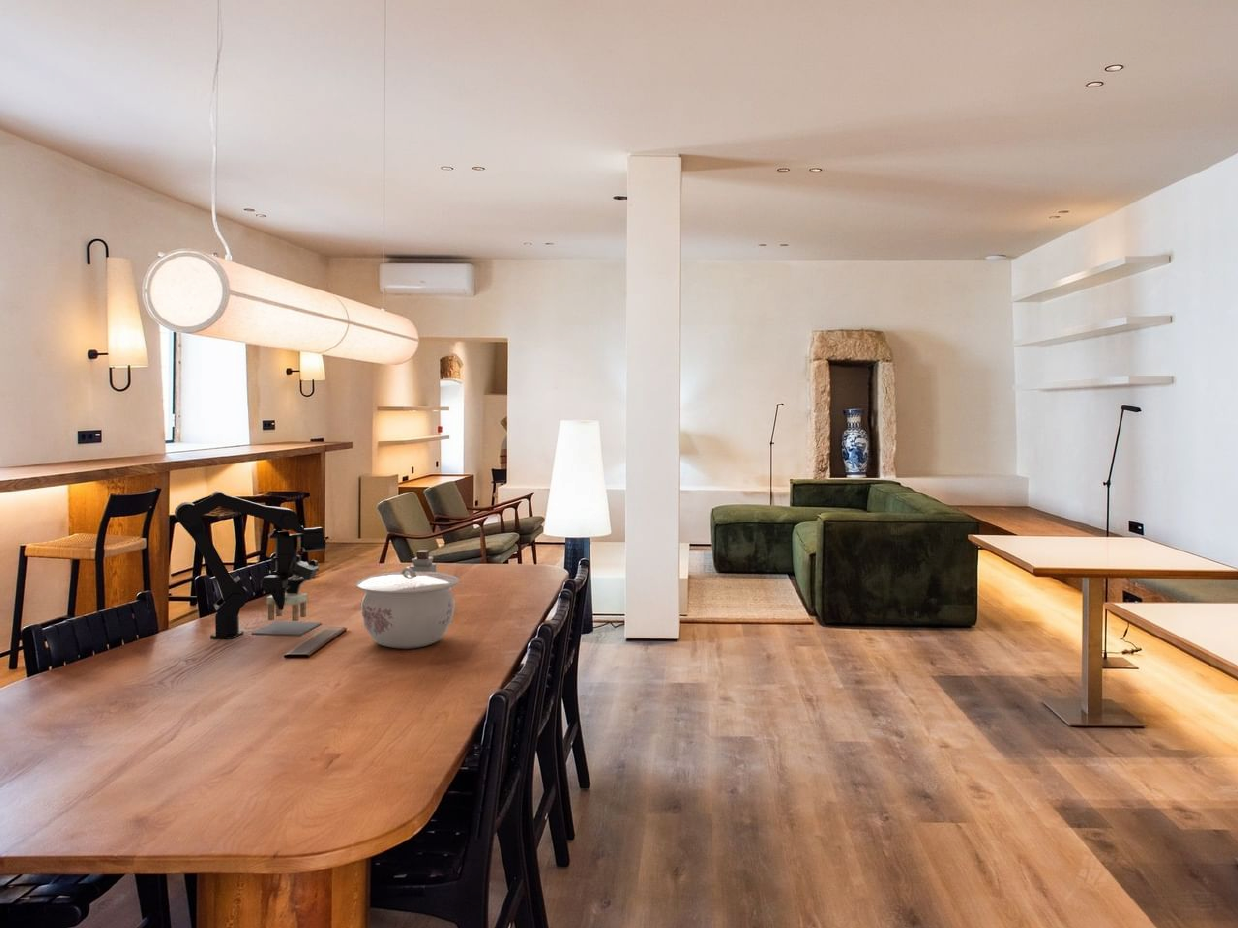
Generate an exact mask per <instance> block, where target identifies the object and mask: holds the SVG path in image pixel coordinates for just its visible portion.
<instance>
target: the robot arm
mask: <svg viewBox="0 0 1238 928" xmlns="http://www.w3.org/2000/svg"><path fill="white" fill-rule="evenodd" d="M218 508H223V509H227V510H230V511H232V512H237V513H240V514H243V515H248V516H251V517H254V518H258V519H261V520H263V521H265V522H267V523H269V524H272V525H273V526H275V527H278V528H279V529H281V530H280V531H279V530H277V529H276V528H273V530H271V532H270V533H268V534H267V537H268V538H270V539H275V556H273V557H272V561H273V562H275V571H272V575H271V574H270V575H266V576H264V577H263V578H262V579H260V587H261V588H263V589H266V590H268V592H269V594H270V596H271V595H272V597H273V599H274V601H275V603H276V604H277V606H278V608H279V610H282V611H283V610H284V608H285V605H284V602H285V593H299V591H300V588H301V585H302V584H303V583H305V582H306V581H310V580H311V579H312V580H313V579H315V577H316V575H317V573H318V572H319V571H320V569H319V563H318V560H315V559H311V560H309V561H303V560H302V556H301V555H299V554H298V548H299V549H302V552H319V551H325V549H326V538H325V533H324V527H322V526H316V527H307V528H305V527H304V526H303V525H301V523H300V522H299V517H298V514H297V513H296V511H294V510H292V509H290V508H288V507H282V506H273V505H272V506H270V505H269V506H268V505H265V504H264V505H263V504H260V503H257V502H253V501H251V500H247V499H243V498H239V497H236V496H232V495H230V494H225V492H222V491H214V492H212V494H209V495H206V496H203V497H202V498H199V499H196V500H194V501H192V502H189V501H185V502H181V503H180V504H178V505H177V506H176V508H175V510H174V515H175V518H176V520H177V522H178V523H179V524H180V525H181V526H182V528H183V529H184V530H185V531H186V533H188V534H189V536H190V537H191V538H192V539H193V541H194V542H195V544H196V546H197V548H198V549H199V551H200V553H201V556H202V557H203V558H204V560H205V562H206V564H207V565H208V567H209V569H210V571H211V573H212V574H213V576H214V578H215V579H216V583H217V586H218V589H219V592H220V593H219V594H220V596H221V597H220V598H219V599H218V600H216V602H215V603H213V607H214V610H216V613H215V616H214V618H215V619H214V625H215V626H214V627H215V628H214V629H215V631H214V632H215V633H214V634H211V635H210V636H209V637H210V638H212V639H213V638H214V639H234V638H236V637H238V636H240V635H243V634H244V633H245V630H239V629H240V627H239V623H240V621H239V619H240V618H239V613H240V609H241V608H243V607H244V606H245V605H246V603H247V601H248V597H247V593H248V590H247V588H246V587H245V586H244V585H243V583H242V582H243V581H242V580H241V578H240V577H239V576H238V575H237V576H236V577H233V576H232V575H231V574H230V573H229V570H228V569H227V567H226V565H225V563H224V562H223V559H222V558H221V556H220V555H219V553H218V551H217V549H216V548H215V546H214V544H213V542H212V540H211V538H210V537H209V535H208V534H207V531H206V528H205V524H204V521H203V519H202V516H206V515H207V514H209V513H210V512H213V511H215V510H216V509H218ZM290 530H292V531H293V532H294V533H290V532H289V531H290Z"/></svg>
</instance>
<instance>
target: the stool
mask: <svg viewBox="0 0 1238 928" xmlns="http://www.w3.org/2000/svg"><path fill="white" fill-rule="evenodd" d="M307 601H308V593H299V592H298V593H287V592H286V593H285V602H284V606H291V608H292V613H291V614H292V615H291V616H292V621H291V622H298V621H299V617H300V618H306V617H307ZM265 603H266V604H265V605H267V620H268V621H273V620H275V617H281V616H283V610H279V608H278V606H277V604H276V603H275V601H274V599H273V597H272V595H271V594H270V595H269V596H266V598H265ZM299 613H300V614H299Z"/></svg>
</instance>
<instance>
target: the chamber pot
mask: <svg viewBox="0 0 1238 928" xmlns="http://www.w3.org/2000/svg"><path fill="white" fill-rule="evenodd" d="M460 582H461V580H460V579H459V578H458V577H457V576H454V575H452V574H447V573H444V572H437V571H436V572H429V571H413V570H412V569H411V568H410V567H409V566H404V567H403V568H402V570H401V571H394V572H392V571H391V572H385V573H379V574H373V575H371V576H367V577H365V578H362V579H360V580H358V581H357V582H355V588H356V589H358V590H360V591H363V592H364V595H363V597H362V598H361V602H360V606H361V609H360V610H361V616H362V620H363V624H364V628H365V629H366V631H367V632H368V634H369V635H370V637H371V639H372V640H373V641H374V642H375V643H376V644H379V645H380V646H382V647H387V648H391V649H396V650H397V649H398V650H410V649H411V650H412V649H418V648H419V649H420V648H424V647H427V646H430V645H433V644H434V643H437V642H439V641H440V640H441V639H443V637H444V636H445V633H446V632H447V630H448V629H449V626H450V625H451V623H452V622H453V619H454V612H455V608H456V607H455V606H456V602H455V601H456V598H455V596H454V594H453V592H452V591H451V590H452V588H453V587H456V586H458V584H459V583H460Z"/></svg>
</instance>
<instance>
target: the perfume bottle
mask: <svg viewBox="0 0 1238 928" xmlns="http://www.w3.org/2000/svg"><path fill="white" fill-rule="evenodd" d="M415 554H416V556H415V557H414V558H412V559H411V561H412V564H411V565H409V566H408V567H410V568H411V569H412V570H413V571H429V572H437V563H434V562H433V560H434V556H430V550H429V549H428V550H427V549H420V550H417V551H416V552H415Z"/></svg>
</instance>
